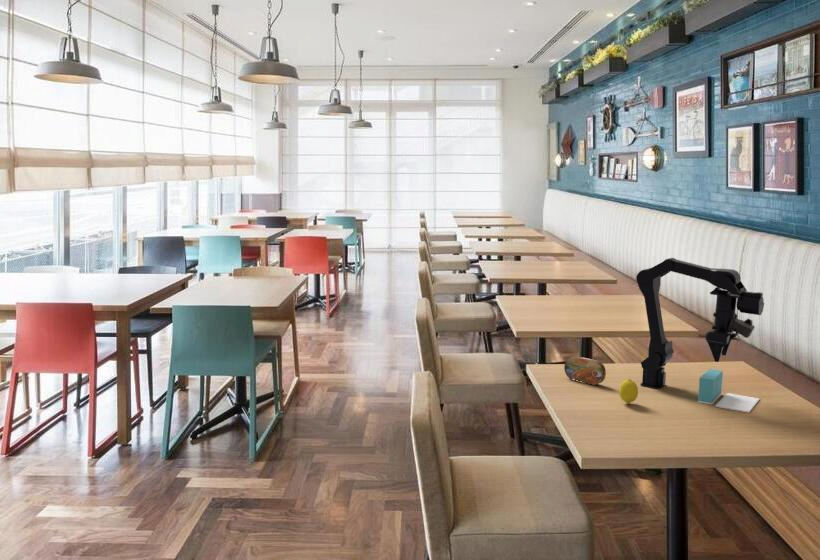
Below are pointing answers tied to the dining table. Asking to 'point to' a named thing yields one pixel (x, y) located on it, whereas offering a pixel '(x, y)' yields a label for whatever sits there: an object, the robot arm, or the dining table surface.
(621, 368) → the dining table surface
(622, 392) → the lemon
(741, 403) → the mat
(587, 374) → the tin
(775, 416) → the dining table surface
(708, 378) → the teal block
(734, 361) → the dining table surface
